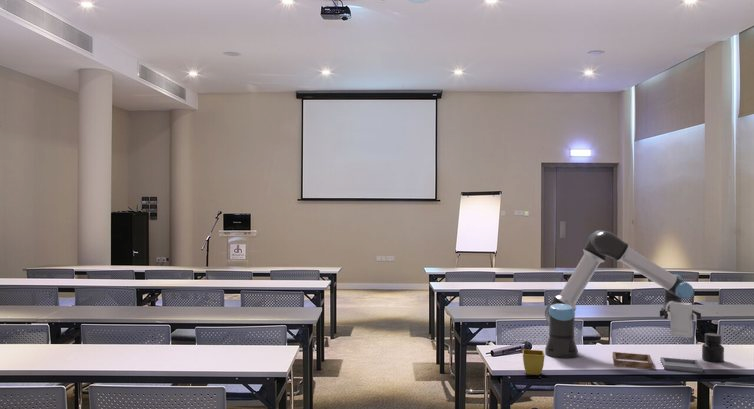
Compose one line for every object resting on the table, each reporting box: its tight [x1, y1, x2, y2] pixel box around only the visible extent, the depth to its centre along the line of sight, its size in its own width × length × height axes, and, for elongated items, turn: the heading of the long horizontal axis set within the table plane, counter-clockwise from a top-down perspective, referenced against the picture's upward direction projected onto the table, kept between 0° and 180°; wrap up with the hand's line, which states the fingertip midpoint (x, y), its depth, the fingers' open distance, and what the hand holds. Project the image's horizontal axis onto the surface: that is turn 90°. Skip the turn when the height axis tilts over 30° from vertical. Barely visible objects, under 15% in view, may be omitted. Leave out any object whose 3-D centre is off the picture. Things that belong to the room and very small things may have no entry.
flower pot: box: [521, 349, 546, 376], centre depth 258 cm, size 9×9×9 cm
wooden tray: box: [612, 351, 654, 370], centre depth 278 cm, size 16×17×2 cm
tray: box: [659, 356, 704, 374], centre depth 271 cm, size 15×15×2 cm
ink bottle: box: [701, 332, 725, 363], centre depth 284 cm, size 10×9×12 cm
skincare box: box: [669, 302, 694, 339], centre depth 271 cm, size 8×6×15 cm
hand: (682, 317), depth 267 cm, fingers closed on skincare box, 9 cm apart
